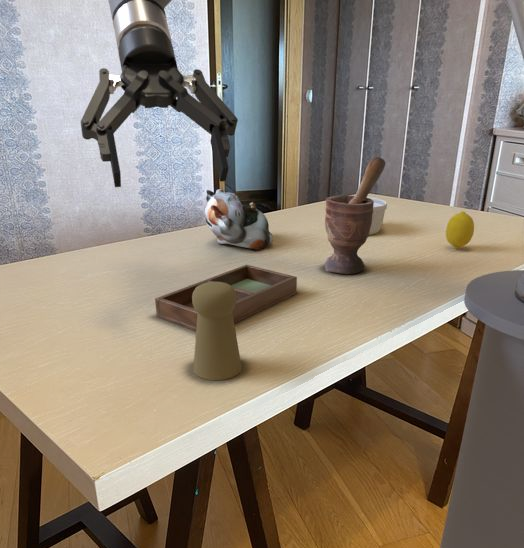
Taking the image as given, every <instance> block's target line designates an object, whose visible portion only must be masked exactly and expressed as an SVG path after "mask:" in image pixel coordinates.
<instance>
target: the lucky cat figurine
mask: <svg viewBox="0 0 524 548" xmlns="http://www.w3.org/2000/svg"><path fill="white" fill-rule="evenodd" d="M205 197H206V198H205V200H206V205H205V209H204V215H205V223H206V226H207V228H209V229H210V230H211V232H212V233H213V234H214V236H216V242H217V244H218V245H231V246H237V247H241V248H247V249H249V250H254V251H257V250H258V251H259V250H261V249H266V248H267V246H269V245H270V244H271V245H272V243H273V240H274V239H273V238H274V235H273V233H272V232H270V228H269V227H270V225H269V220H268V219H267V217H266V215H265V214H264V213H263V212H262V211H261V210H259V209H258V208H257V204H256V203H255V202H253V201H251V202H250V203H249V204H248V205H246V204H243V203H242V201H241V199H240V198H239V196H238V194H236V193H234V192H225V191H224V189H222V188H219V189H216V191H215V192H214V191H212V190H209V189H207V190H206V196H205Z"/></svg>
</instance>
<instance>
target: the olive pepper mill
mask: <svg viewBox="0 0 524 548" xmlns="http://www.w3.org/2000/svg"><path fill="white" fill-rule="evenodd" d="M192 302H193V306H194V309H195V310H196V311H197V313H198V316H197V329H196V331H195V342H194V343H195V344H194V354H193V355H194V357H193V369H192V370H193V373H194V374H195V375H196V376H197V377H199V378H201V379H204V380H206V381H207V380H208V381H224V380H225V381H226V380H228V379H232V378H235V377H236V376H237V375H239V374H240V373H241V371H242V368H243V367H242V361H241V355H240V349H239V343H238V338H237V332H236V326H235V324H234V319H233V313H232V311H233V310H234V308H235V306H236V302H237V296H236V293H235V290H234V289H233V287H232V286H231V285H229V284H227V283H224V282H207V283H203V284H201V285H199V286H197V287H196V288H195V290H194V292H193V295H192Z"/></svg>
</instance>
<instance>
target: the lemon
mask: <svg viewBox="0 0 524 548" xmlns="http://www.w3.org/2000/svg"><path fill="white" fill-rule="evenodd" d="M474 233H475V222H474V219H473V217H471V215H469V214H468V213H466V211H462V210H461V211H460V212H458V213H456V214H454V215H453V216H451V217H450V218H449V220H448V222H447V225H446V229H445V237H446V241H447V242H448V243H449V245H451V246H453V248H454V249H455V250H459V249H460V248H461V247H465V246H466V245H468V244H469V243H470V242H471V240H472V238H473V237H474Z"/></svg>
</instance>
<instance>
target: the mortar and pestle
mask: <svg viewBox="0 0 524 548" xmlns="http://www.w3.org/2000/svg"><path fill="white" fill-rule="evenodd" d="M385 166H386V161H385V159H384V158H381V157H379V156H374V157H372V158H371V160H370V161H369V162H368V165H367V166H366V168H365V172H364V175H363V177H362V180H361V182H360V183H359V187H358V189H357V190H356V193H355V194H354V195H346V194H340V195H331V196H328V197H326V198H325V216H324V217H325V218H324V227H325V228H324V229H325V232H326V234H327V235H326V236H327V237H326V238H327V241H328V242H329V244H330V245H331V247H332V249H333V253H332V254H331V256H329V257H327V258H326V260H325V262H324V269H325V270H326V271H325V272H331V273H336V274H342V275H343V274H344V275H353V274H357V273H361V272H362V271H364V269H365V263H364V261H363V259H362V258H361V257H360V256H359V255H358V251H359V250H360V248H361V247H362V246H364V244H365V243H366V242H367V240H368V238H369V237H368V236H370V235H369V232H370V228H371V224H372V215H373V204H374V201H373V200H371V199H369V198H366V197H368V195H369V194H370V192H371V191H372V189H373V187H374V186H375V184H376V183H377V182H378V180H379V179H380V177H381V175H382V173H383V172H384V169H385Z"/></svg>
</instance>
